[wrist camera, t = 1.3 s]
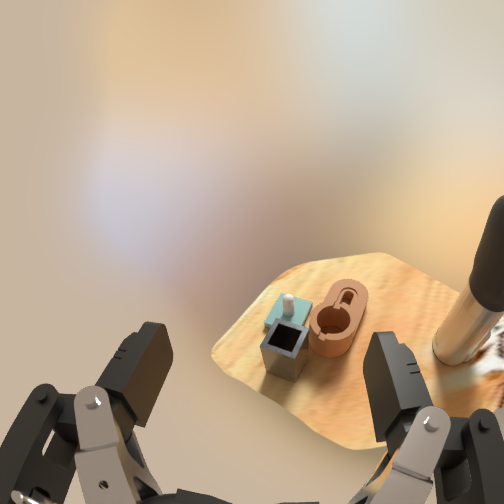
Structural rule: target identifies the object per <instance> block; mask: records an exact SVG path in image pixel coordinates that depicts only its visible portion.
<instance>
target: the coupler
mask: <svg viewBox="0 0 504 504" xmlns="http://www.w3.org/2000/svg"><path fill="white" fill-rule="evenodd" d="M308 340H309V328H307V327H303V326H300V325H297V324H294V323H291V322H287V321H284V320H281V319H278V318H276V319H275V320H274V322H273V324H272V326H271V328H270V329H269V331H268V333H267V335H266V336H265V338H264V340H263V342H262V343H261V345H260V348H261V352H262V356H263V360H264V364H265V368H266V372H268V373H271V374H273V375H276V376H279V377H281V378H284V379H287V380H290V381H292V382H296V380H297V378H298V376H299V374H300V372H301V370H302V367H303V365H304V363H305V361H306V359H307V357H308Z"/></svg>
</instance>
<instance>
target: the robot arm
mask: <svg viewBox="0 0 504 504" xmlns="http://www.w3.org/2000/svg"><path fill="white" fill-rule="evenodd" d="M503 314H504V195H503V196H501V197H500V198H499V199H498V200H497V201H496V202H495V204H494V205H493V207H492V209H491V211H490V214H489V217H488V220H487V223H486V226H485V229H484V233H483V235H482V238H481V241H480V244H479V247H478V249H477V252H476V255H475V260H474V265H473V270H472V272H471V274H470V277H469V278H468V280H467V282H466V284H465V286H464V288H463V290H462V292H461V293H460V295H459V297H458V298H457V300H456V302H455V304H454V305H453V307H452V309H451V310H450V312H449V314H448V315H447V317H446V318H445V320H444V321H443V323H442V325H441V326H440V328H439V329H438V330H437V332H436V334H435V335H434V338H433V350H434V353H435V355H436V356H437V358H438V359H439V360H440V361H441V362H443V363H444V364H447V365H450V366H455V365H459V364H460V363H462V362H468V361H469V360H470V359H471V358H472V357H473V356H474V355H475V354H476V352H477V351H478V350H479V349H480V348H481V347H482V346H483V345H484V344H485V343H486V341H487V340H488V339H489V338H490V336H491V330H492V328H493V327H494V326H495V325H496V323H497V322H498V321H499V319H500V318H501V317H502V315H503ZM172 362H173V350H172V347H171V343H170V340H169V336H168V333H167V329H166V326H165V325H164V324H161V323H153V322H145V323H144V324H143V325H142V327H141V329H140V330H139V332H138V333H136V332H133V333H132V334H131V335H129V336H128V337H127V338H125V339H124V340H123V342H122V343H121V345H120V347H119V348H118V351H116V353H115V354H114V357H113V358H112V359H111V360H110V362H109V364H108V365H107V367H106V368H105V370H104V371H103V373H102V375H101V376H100V378H99V379H98V381H97V383H96V384H95V385H94V386H88V387H85V388H83V389H82V390H80V391H79V392H78V393H77V394H60V393H58V392H57V390H56V389H55V387H54V386H52V385H51V384H41V385H39V386H37V387H36V388H35V389H34V390H33V391H32V392H31V394H30V395H29V397H28V399H27V400H26V402H25V404H24V405H23V407H22V409H21V410H20V412H19V414H18V415H17V417H16V419H15V421H14V422H13V424H12V426H11V428H10V430H9V431H8V433H7V435H6V437H5V439H4V441H3V443H2V445H1V447H0V504H63V503H64V500H65V497H66V495H67V492H68V489H69V486H70V484H71V481H72V478H73V476H74V473H75V471H76V468H77V472H78V476H79V481H80V485H81V488H82V492H83V495H84V499H85V502H86V504H232V503H229V502H226V501H223V500H221V499H218V498H216V497H213V496H210V495H205V494H199V493H195V492H190V491H186V490H182V489H177V493H176V494H162V491H161V489H160V487H159V486H158V484H157V482H156V480H155V479H154V478H153V476H152V475H151V473H150V471H149V469H148V467H147V465H146V462H145V459H144V457H143V454H142V452H141V449H140V446H139V444H138V441H137V438H136V435H135V433H134V431H133V428H134V425H137V426H141V427H145V426H146V423H147V421H148V418H149V416H150V414H151V411H152V409H153V406H154V404H155V402H156V400H157V397H158V395H159V392H160V390H161V388H162V386H163V383H164V381H165V379H166V376H167V374H168V372H169V370H170V367H171V365H172ZM363 374H364V379H365V383H366V388H367V393H368V398H369V403H370V408H371V413H372V418H373V424H374V430H375V436H376V442H383V441H386V443H387V448H388V449H387V451H386V453H385V454H384V456H383V457H382V459H381V461H380V462H379V464H378V465H377V467H376V468H375V470H374V471H373V473H372V475H371V476H370V477H369V479H368V480H367V482H366V483H365V484H364V486H363V487H362V488H361V489H360V491H359V492H358V493H357V494H356V495H355V496H354V497H353V498H352V499H351V500H350V502H349V503H348V504H424V503H425V501H426V499H427V497H428V495H429V493H430V491H431V489H432V486H433V481H432V480H430V478H431V475H432V473H433V471H434V478H435V487H436V497H437V504H504V441H503V437H502V434H501V431H500V428H499V425H498V422H497V419H496V417H495V415H494V414H493V413H492V412H491V411H489V410H487V409H478V410H476V411H475V412H474V413H473V414H472V415H471V416H470V417H469V418H458V417H449V416H448V414H447V413H446V412H445V411H444V410H443V409H441V408H439V407H436V406H434V405H433V403H432V400H431V398H430V395H429V392H428V389H427V387H426V384H425V381H424V379H423V376H422V374H421V373H420V369H419V366H418V365H417V361H416V359H415V357H414V354H413V352H412V351H411V350H410V349H409V348H408V347H407V346H406V345H405V344H399V343H398V341H397V338H396V336H395V334H394V332H393V331H387V332H374V333H373V335H372V337H371V341H370V344H369V347H368V350H367V352H366V355H365V358H364V362H363ZM52 430H53V431H54V432H55V433H54V435H53V437H52V439H51V441H50V443H49V446H48V448H47V450H46V452H45V454H44V456H43V455H42V450H43V447H44V445H45V443H46V440H47V438H48V437H49V435H50V433H51V431H52ZM467 460H468V461H467ZM468 465H469V466H468ZM469 470H470V471H469ZM470 475H471V477H470ZM279 504H319V502H304V503H303V502H300V503H279Z"/></svg>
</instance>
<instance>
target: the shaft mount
mask: <svg viewBox="0 0 504 504" xmlns="http://www.w3.org/2000/svg"><path fill="white" fill-rule="evenodd" d="M311 308H312V302H311V301H307V300H303V299H300V298H297V297H293V296H292V295H291V294H283V293H281V294H280V296H279V298H278V299H277V301H276V303H275V305H274V306H273V308H272V310H271V312H270V313H269V315H268V317H267V319H266V320H265V322H264V324H265V327H268V328H271V326H272V324H273V322H274V320H275V319H276V318H278V319H281V320H284V321H287V322H291V323H294V324H297V325H300V326H303V325H304V323H305V321H306V319H307V317H308V315H309V313H310V310H311Z"/></svg>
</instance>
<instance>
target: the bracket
mask: <svg viewBox="0 0 504 504" xmlns="http://www.w3.org/2000/svg"><path fill="white" fill-rule="evenodd" d="M344 298H350V299H351V300H352V301H351V304H350V306H349V305H348V304H346V303H344V302H342V301H343V299H344ZM367 301H368V291H367V289H366V287H365V286H364V285H363V284H361V283H360V282H358V281H356V280H352V279H343V280H339V281H337V282H335V283H334V284H333V285H332V286H331V288H330V290H329V292H328V294H327V296H326V297H325V299H324V301H323V302H322V303H320V304H318V305H317V306H316V307H315V308H314V309H313V310H312V312H311V315H310V325H309V344H310V347H311V348H312V350H313V351H314V352H315V353H316V354H318V355H320V356H322V357H326V358H335V357H338V356H341V355H343V354H344V353H345V352H346V351H347V350H348V349H349V347H350V345H351V343H352V341H353V338H354V336H355V333H356V331H357V328H358V326H359V323H360V321H361V318H362V316H363V313H364V310H365V308H366V304H367ZM341 303H342V304H341ZM326 326H335V327H338V328H339V329H341V330H342V331H343V332H341V333H338V334H330V333H327V335H325V334H323V333H322V332H321V328H323V327H326Z"/></svg>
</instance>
